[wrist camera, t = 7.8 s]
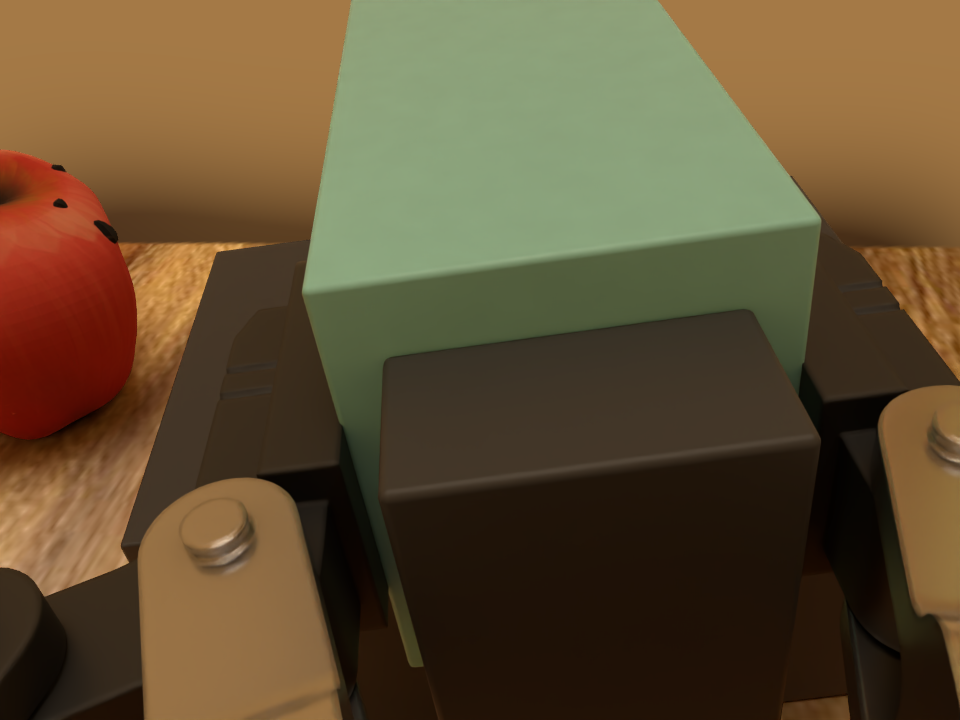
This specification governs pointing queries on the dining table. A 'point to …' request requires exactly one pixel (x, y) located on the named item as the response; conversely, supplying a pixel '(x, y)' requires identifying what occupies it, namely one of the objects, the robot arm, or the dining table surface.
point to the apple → (58, 300)
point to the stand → (382, 658)
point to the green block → (567, 358)
